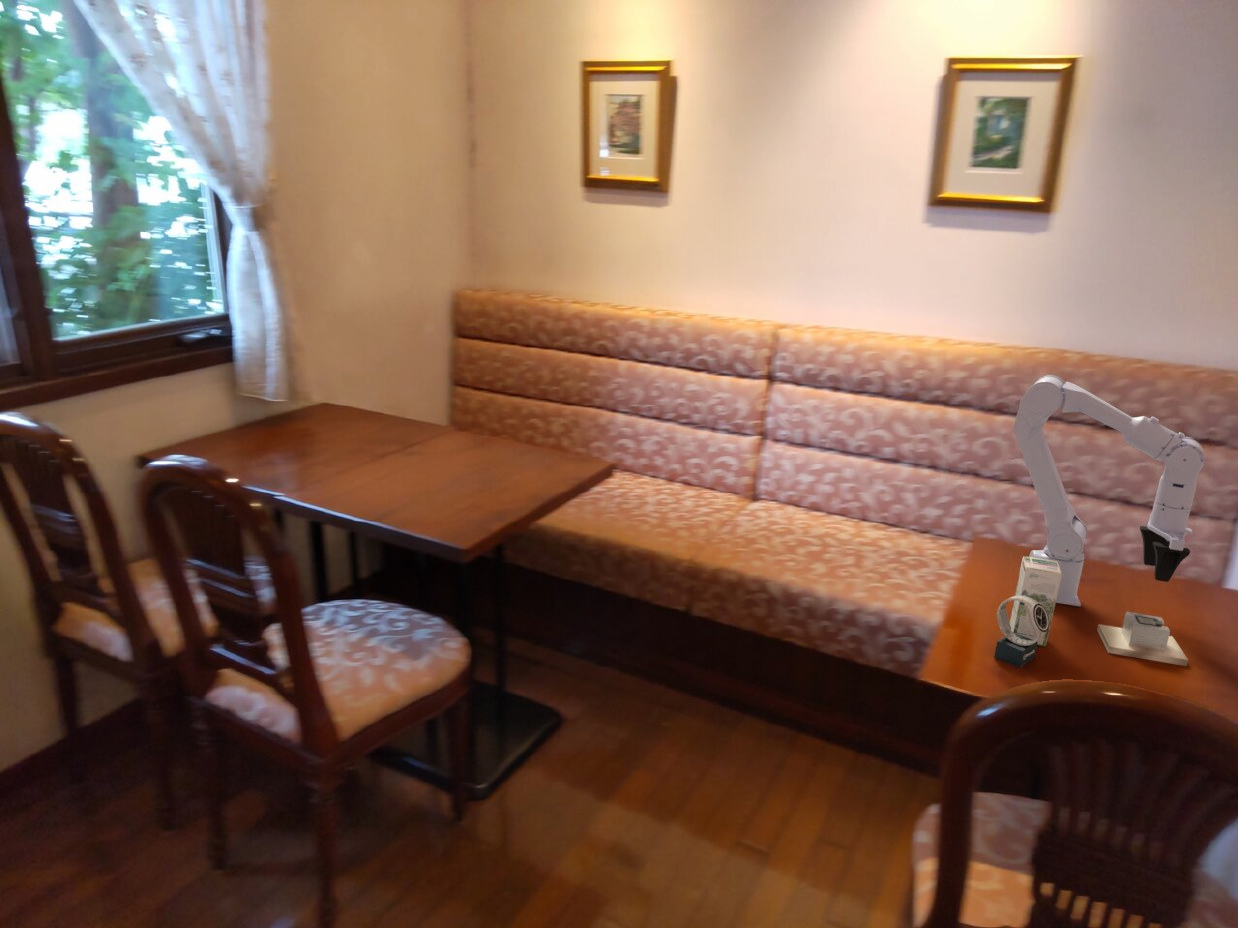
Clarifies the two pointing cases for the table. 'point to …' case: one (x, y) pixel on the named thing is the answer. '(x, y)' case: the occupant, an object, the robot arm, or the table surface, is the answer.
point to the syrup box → (1035, 593)
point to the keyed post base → (1119, 646)
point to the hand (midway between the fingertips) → (1155, 572)
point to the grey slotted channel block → (1145, 632)
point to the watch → (1017, 646)
